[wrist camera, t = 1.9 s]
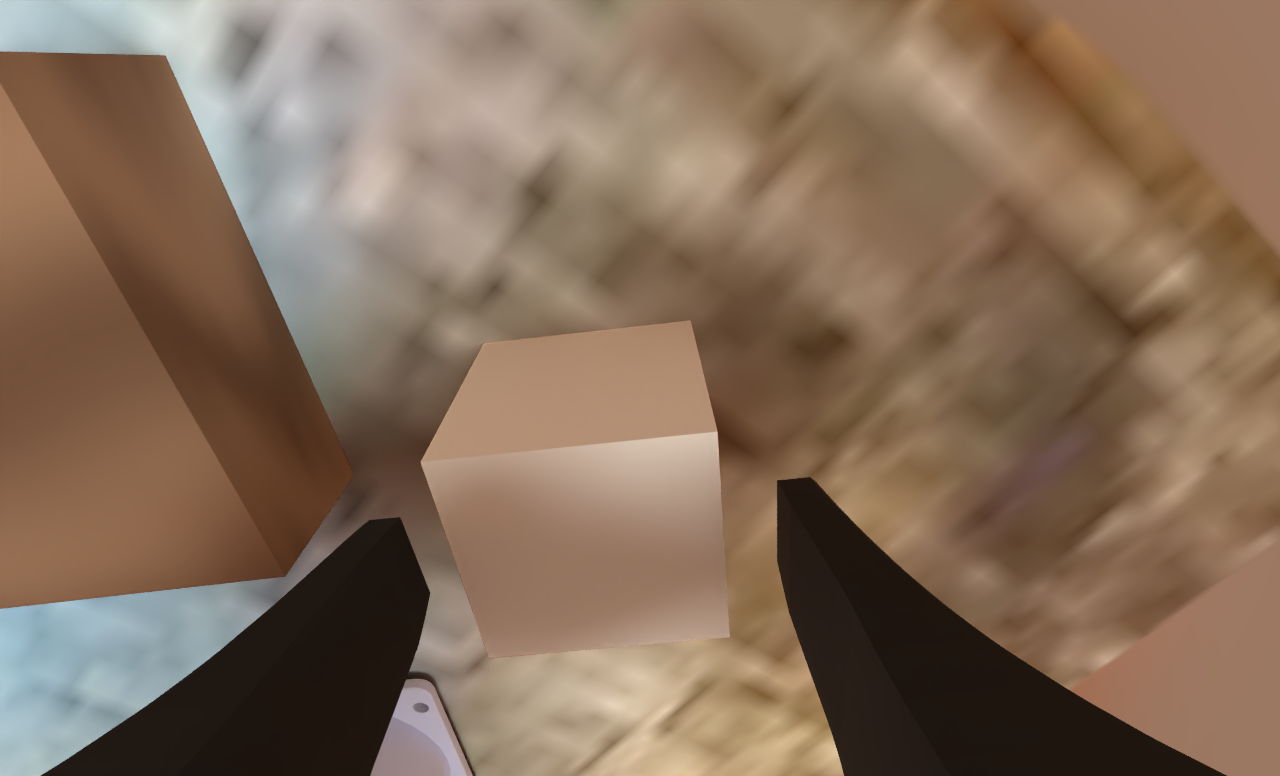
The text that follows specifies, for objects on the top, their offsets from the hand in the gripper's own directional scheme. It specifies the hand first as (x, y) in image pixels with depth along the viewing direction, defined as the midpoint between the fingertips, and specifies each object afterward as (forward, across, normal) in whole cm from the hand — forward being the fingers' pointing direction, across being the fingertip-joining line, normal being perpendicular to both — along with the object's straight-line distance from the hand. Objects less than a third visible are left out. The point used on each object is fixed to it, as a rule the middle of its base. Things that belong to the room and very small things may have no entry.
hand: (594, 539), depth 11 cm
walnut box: (+5, +12, -4) cm, 14 cm away
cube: (+5, 0, 0) cm, 5 cm away
